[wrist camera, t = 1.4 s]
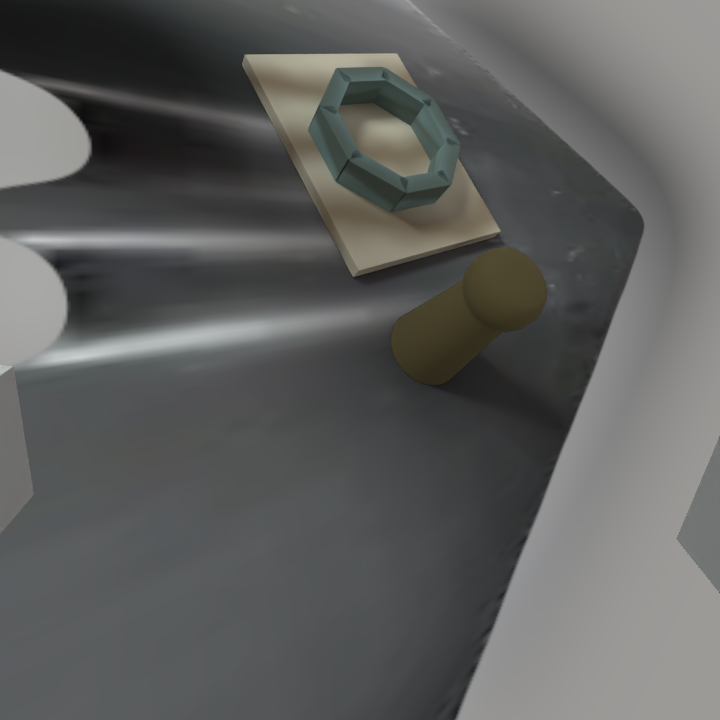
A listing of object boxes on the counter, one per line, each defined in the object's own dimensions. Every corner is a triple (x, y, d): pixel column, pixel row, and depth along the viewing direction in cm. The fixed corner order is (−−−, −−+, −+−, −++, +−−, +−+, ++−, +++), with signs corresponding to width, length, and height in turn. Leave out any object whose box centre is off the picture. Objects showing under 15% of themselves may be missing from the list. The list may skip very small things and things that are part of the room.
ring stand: (241, 65, 44) (253, 26, 41) (392, 62, 52) (410, 30, 49) (353, 277, 41) (373, 252, 38) (493, 237, 49) (519, 214, 46)
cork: (399, 387, 39) (497, 321, 30) (383, 310, 41) (470, 226, 32) (467, 383, 42) (575, 323, 32) (449, 312, 44) (546, 236, 34)
